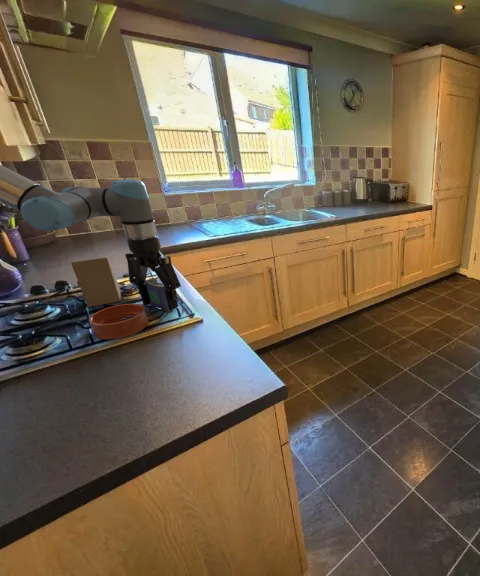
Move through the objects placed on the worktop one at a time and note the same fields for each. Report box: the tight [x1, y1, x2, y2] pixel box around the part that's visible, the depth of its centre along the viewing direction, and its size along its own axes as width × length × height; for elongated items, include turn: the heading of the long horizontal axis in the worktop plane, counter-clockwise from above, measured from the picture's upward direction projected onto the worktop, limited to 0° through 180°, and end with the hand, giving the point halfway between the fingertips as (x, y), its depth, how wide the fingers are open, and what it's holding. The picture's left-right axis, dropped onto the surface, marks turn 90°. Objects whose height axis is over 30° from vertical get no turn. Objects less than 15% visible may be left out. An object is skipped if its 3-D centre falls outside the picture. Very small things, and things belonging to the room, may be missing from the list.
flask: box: [144, 276, 174, 314], centre depth 101 cm, size 9×3×11 cm, turn 63°
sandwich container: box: [70, 257, 121, 308], centre depth 107 cm, size 9×15×15 cm, turn 37°
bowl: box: [88, 303, 150, 341], centre depth 91 cm, size 12×12×5 cm
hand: (161, 306), depth 103 cm, fingers closed on flask, 9 cm apart
